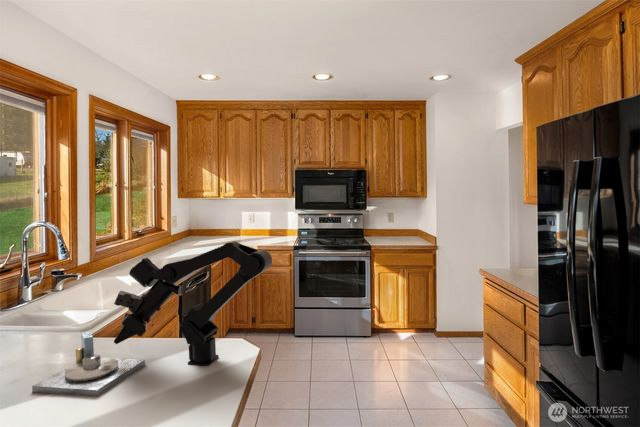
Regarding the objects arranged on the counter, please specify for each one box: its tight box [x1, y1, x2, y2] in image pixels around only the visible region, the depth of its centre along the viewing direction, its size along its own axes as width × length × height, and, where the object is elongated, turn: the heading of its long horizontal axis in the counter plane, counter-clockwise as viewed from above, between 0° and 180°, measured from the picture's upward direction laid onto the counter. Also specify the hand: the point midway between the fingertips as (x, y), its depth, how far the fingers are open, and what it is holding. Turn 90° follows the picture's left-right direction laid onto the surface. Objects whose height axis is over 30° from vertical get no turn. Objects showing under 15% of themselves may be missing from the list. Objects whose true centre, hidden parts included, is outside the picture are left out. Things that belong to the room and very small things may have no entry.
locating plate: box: [31, 347, 146, 398], centre depth 103 cm, size 18×18×6 cm
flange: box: [65, 331, 118, 381], centre depth 104 cm, size 14×12×8 cm
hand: (115, 342), depth 110 cm, fingers closed
